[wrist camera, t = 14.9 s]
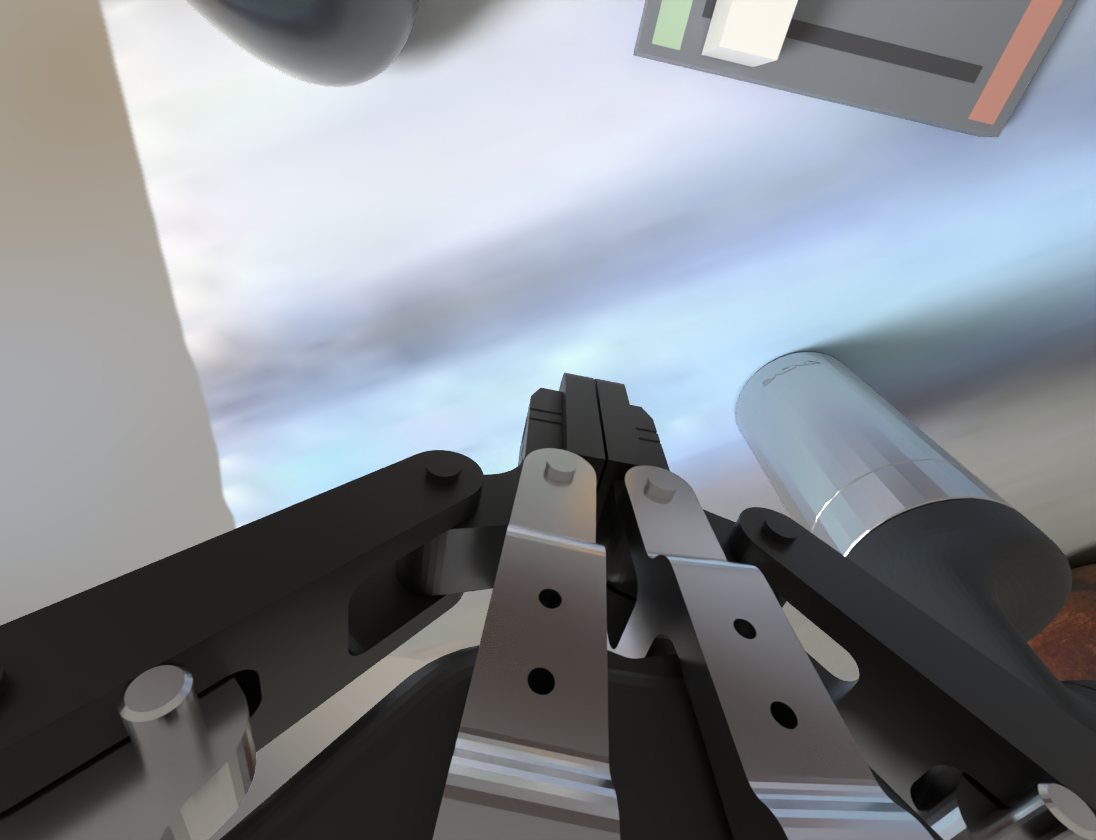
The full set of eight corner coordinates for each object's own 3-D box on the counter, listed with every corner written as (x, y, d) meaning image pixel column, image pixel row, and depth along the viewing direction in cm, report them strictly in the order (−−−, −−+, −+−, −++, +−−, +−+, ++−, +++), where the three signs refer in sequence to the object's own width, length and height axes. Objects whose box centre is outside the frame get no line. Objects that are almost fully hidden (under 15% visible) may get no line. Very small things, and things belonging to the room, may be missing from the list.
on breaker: (784, -27, 25) (814, -47, 22) (753, 67, 27) (777, 60, 24) (728, -41, 25) (751, -64, 22) (701, 54, 27) (719, 46, 24)
